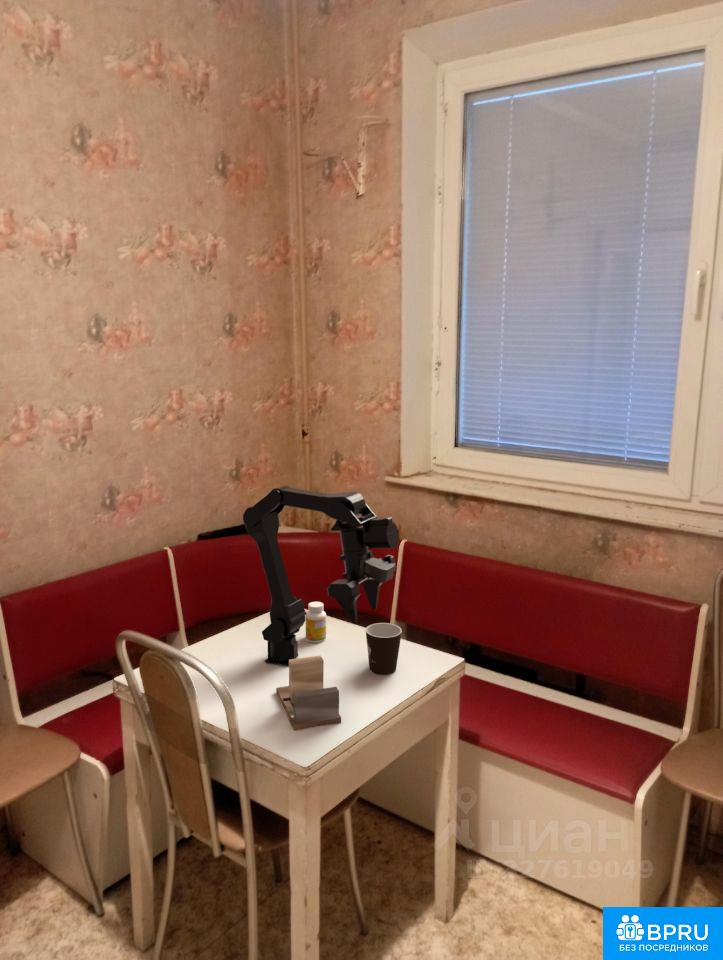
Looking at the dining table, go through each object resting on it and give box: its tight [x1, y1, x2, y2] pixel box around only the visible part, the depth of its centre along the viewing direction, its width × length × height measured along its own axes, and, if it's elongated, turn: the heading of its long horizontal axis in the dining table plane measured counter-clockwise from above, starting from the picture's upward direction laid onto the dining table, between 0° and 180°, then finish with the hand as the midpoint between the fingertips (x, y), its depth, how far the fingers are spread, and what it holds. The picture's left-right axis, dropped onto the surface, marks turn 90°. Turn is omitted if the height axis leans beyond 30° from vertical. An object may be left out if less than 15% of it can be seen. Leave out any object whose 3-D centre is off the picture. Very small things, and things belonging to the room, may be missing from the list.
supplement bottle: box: [305, 601, 327, 644], centre depth 189 cm, size 5×5×10 cm
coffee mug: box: [365, 622, 403, 676], centre depth 174 cm, size 12×9×10 cm
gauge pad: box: [283, 655, 325, 704], centre depth 155 cm, size 2×9×9 cm, turn 109°
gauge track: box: [275, 685, 342, 731], centre depth 154 cm, size 16×10×7 cm, turn 19°
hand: (364, 615), depth 163 cm, fingers open, 9 cm apart
